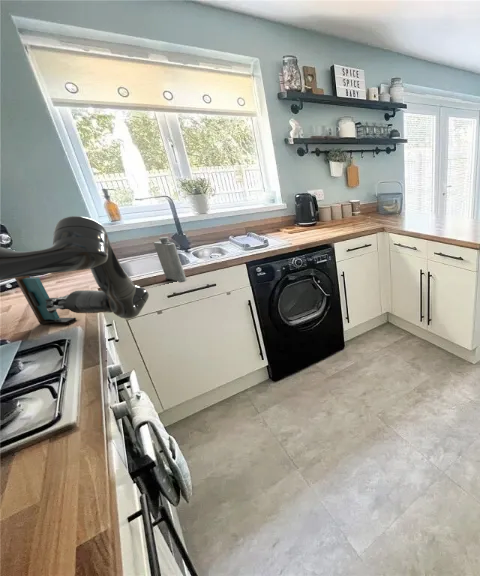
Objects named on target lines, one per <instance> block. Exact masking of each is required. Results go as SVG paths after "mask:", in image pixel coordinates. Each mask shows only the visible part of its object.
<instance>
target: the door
mask: <svg viewBox="0 0 480 576" xmlns="http://www.w3.org/2000/svg"><path fill="white" fill-rule="evenodd" d="M22 280H23V282H24V284H25V286H26V288H27V289H28V291H29V295H30V297H31V299H32V301H33V303H34V304H35V306H37V308H38V310H39V312H40V313H41V315H42V317H43V319H48V320H56V319H59V318H61V317H60V316H59V313H58V312H57V310H56V311H55V312H53V313H49V312H48V310H47V308H46V304H47V303H46V299H49V298H50V296H49V294H48V292H47V290H46V288H45V285H43V283H42V281H41V278H39V277H30V278H24V279H22Z"/></svg>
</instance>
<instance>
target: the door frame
mask: <svg viewBox="0 0 480 576" xmlns="http://www.w3.org/2000/svg"><path fill="white" fill-rule="evenodd" d="M44 275H45V276H46V274H39V275H38V276H44ZM24 278H31V277H30V276H25V277H18V278H14V279H15V282H16V283H17V285H18V287H19V289H20V290H21V292H22V294H23V296H24V298H25V300H26V301H27V303H28V305H29V307H30V309H31V310H32V312H33V314H34V316H35V317H36V319H37V322H38V323H39V325H45V326H47V325H49V326H51V325H52V326H53V325H54V326H68V325H71V324H73V323H76V322H77V318H76V317H60V318H59V319H56V320H48V319H43V317H42V315H41V313H40V312H39V310H38V308H37V306H35V304H34V303H33V301H32V299H31V297H30V295H29V291H28V289H27V288H26V286H25V284H24V282H23V280H22V279H24Z"/></svg>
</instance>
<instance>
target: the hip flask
mask: <svg viewBox="0 0 480 576" xmlns="http://www.w3.org/2000/svg"><path fill="white" fill-rule="evenodd" d="M169 239H170V238H169V236H162V237H158V240H159V241H155V242H153V246H154V249H155V252H156V255H157V257H158V260H159V263H160V266H161V268H162V272H163V274H164V276H165V279H166V280H172V281H176V282H178V283H185V282H187V281H188V280H187V277H186V273H185V270H184V268H183V265H182V262H181V258H180V255H179V252H178V249H177V247H176V244H175V243H174V242H172V241H170V240H169Z"/></svg>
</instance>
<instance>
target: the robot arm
mask: <svg viewBox="0 0 480 576" xmlns="http://www.w3.org/2000/svg"><path fill="white" fill-rule="evenodd" d="M52 236H53V238H52V246H51V247H47V248H44V249H37V250H28V251H19V250H12V249H9V248H7V247H3V246H0V281H6V280H13V279H15V278H18V277H25V276H29V277H30V276H31V277H33V276H40V275H39V274H45V275H47V274H59V273H67V272H76V271H85V270H90V272H91V274H92V276H93V279H94V281H95V283H96V285H97V286H98V287H99V289H100V290H95V289H94V290H93V289H91V290H90V289H89V290H86V289H85V290H84V289H82V290H78V289H77V290H75V291H72V292H70V293H69V294H66V295H64V296H59V297H49V299H46V303H47V304H46V308H47V310H48V312H49V313H53V312H55V311H57V310H58V309H59V310H61V311H62V310H63V311H64V310H68V311H70V312H73V313H76V314H99V313H100V314H102V313H103V314H105V313H106V314H108V313H112V314H114V315H115V316H117V317H119V318H121V319H125V320H131V319H135V318H136V317H138V316H139V314H140V313H141V312H142V310H143V308H144V306H146V303H147V302H148V300H149V297H150V294H149V292H148V291H147V289H146V288H144V287H142V286H139V285H135V283H134V282H133V280H132V279H131V277H130V276H129V275H128V273H127V272H126V271H125V269H124V268H123V266H122V264H121V262H120V261H119V259H118V257H117V255H116V253H115V251H114V248H113V246H112V245H111V242H110V238H109V236H108V232H107V230H106V228H105V226H103V225H102V224H101V223H100V222H98V221H96V220H95V219H93V218H89V217H86V216H79V215H74V216H73V215H71V216H66V217H63V218H60V220H58V221H57V222H56V224H55V226H54V229H53V235H52Z"/></svg>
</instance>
